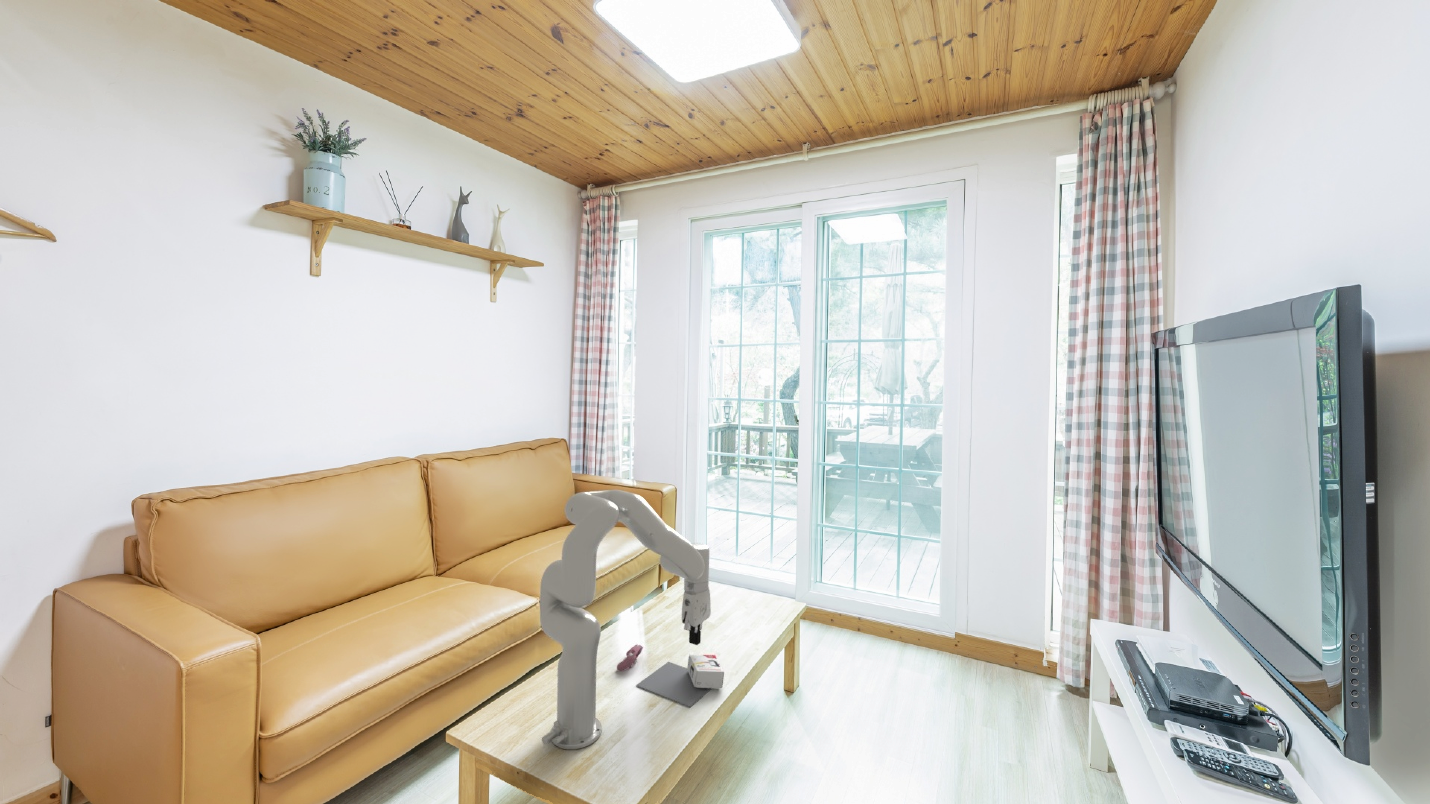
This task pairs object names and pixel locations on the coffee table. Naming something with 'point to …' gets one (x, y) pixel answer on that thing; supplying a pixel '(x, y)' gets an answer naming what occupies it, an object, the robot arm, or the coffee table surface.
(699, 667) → the ink box
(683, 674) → the mat
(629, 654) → the video game controller
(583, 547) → the robot arm
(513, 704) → the coffee table surface
